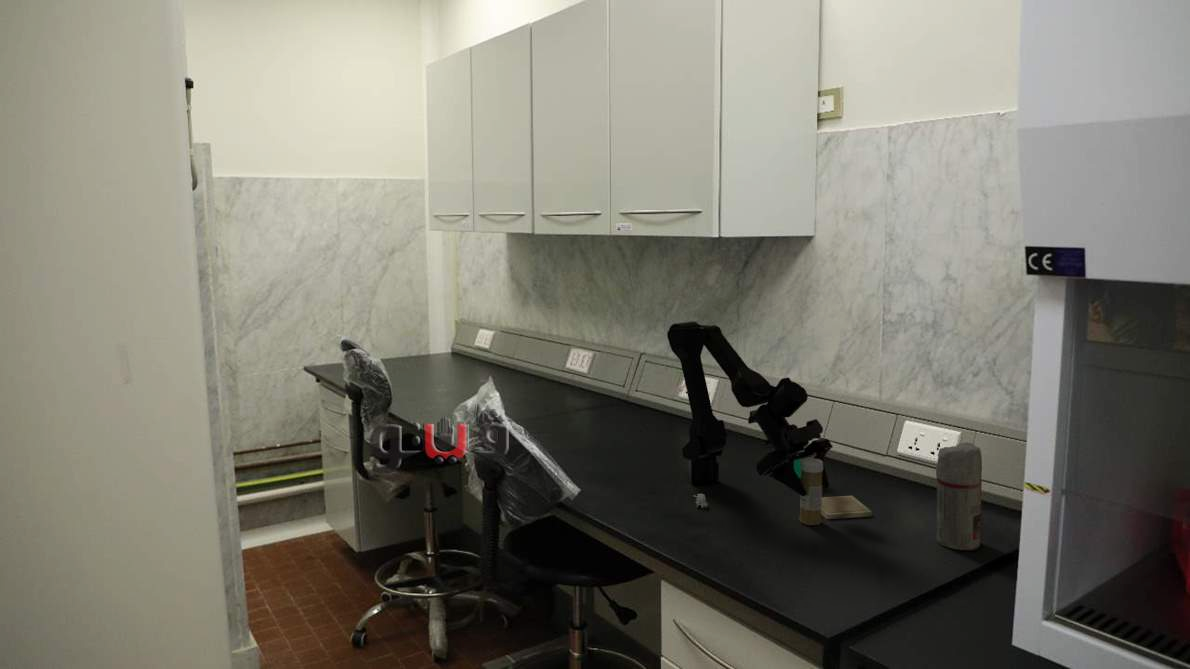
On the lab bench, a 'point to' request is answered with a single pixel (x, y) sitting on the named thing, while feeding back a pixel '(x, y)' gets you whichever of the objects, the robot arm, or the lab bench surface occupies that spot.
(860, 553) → the lab bench surface
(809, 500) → the sprinkles bottle
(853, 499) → the rest pad
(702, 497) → the small grey figurine
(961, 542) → the spray can
